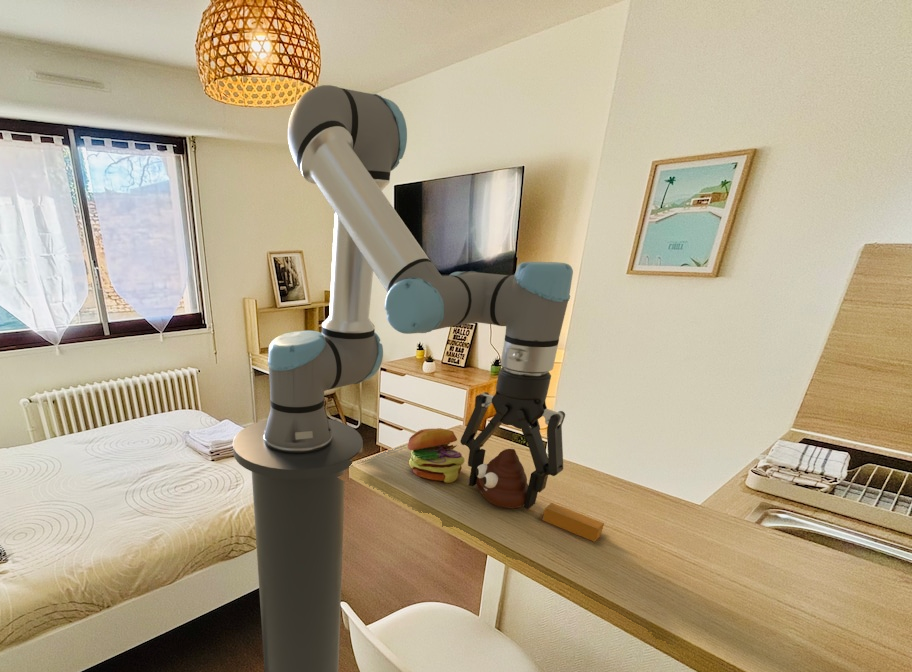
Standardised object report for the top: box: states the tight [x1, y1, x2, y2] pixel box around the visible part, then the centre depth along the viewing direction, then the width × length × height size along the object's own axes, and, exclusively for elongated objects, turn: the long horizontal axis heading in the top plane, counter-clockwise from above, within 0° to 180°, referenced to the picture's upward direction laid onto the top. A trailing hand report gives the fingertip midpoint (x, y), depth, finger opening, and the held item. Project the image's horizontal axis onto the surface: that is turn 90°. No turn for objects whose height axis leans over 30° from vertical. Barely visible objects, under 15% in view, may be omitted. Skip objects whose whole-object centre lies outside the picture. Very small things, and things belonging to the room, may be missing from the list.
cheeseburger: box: [407, 427, 465, 484], centre depth 90 cm, size 10×11×10 cm
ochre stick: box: [541, 502, 605, 542], centre depth 74 cm, size 8×2×2 cm, turn 42°
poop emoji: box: [475, 448, 529, 509], centre depth 80 cm, size 10×8×9 cm
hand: (500, 494), depth 82 cm, fingers closed on poop emoji, 9 cm apart
